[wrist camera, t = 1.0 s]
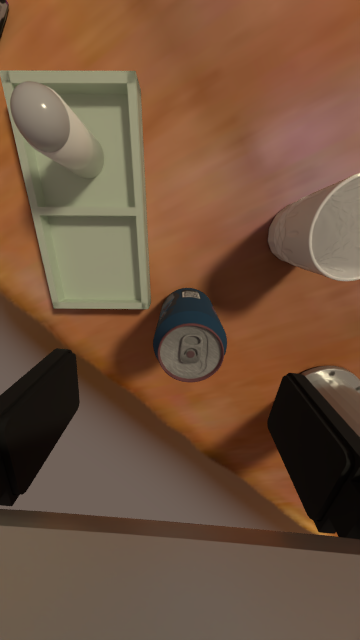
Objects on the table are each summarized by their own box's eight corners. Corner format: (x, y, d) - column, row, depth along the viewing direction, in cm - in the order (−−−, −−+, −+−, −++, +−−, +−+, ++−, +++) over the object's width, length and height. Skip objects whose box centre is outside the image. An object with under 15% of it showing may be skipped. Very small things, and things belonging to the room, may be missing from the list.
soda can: (208, 334, 30) (223, 391, 19) (160, 330, 30) (148, 384, 19) (215, 288, 28) (238, 321, 17) (163, 283, 28) (152, 313, 16)
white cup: (266, 273, 27) (311, 291, 18) (258, 207, 24) (306, 188, 15) (329, 256, 26) (410, 266, 17) (328, 186, 23) (424, 152, 14)
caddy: (150, 303, 29) (148, 309, 26) (64, 302, 29) (53, 308, 26) (140, 90, 21) (135, 71, 18) (19, 89, 21) (-1, 70, 18)
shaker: (106, 178, 22) (62, 143, 14) (69, 178, 22) (4, 143, 14) (101, 132, 21) (49, 62, 13) (62, 132, 21) (-16, 62, 13)
